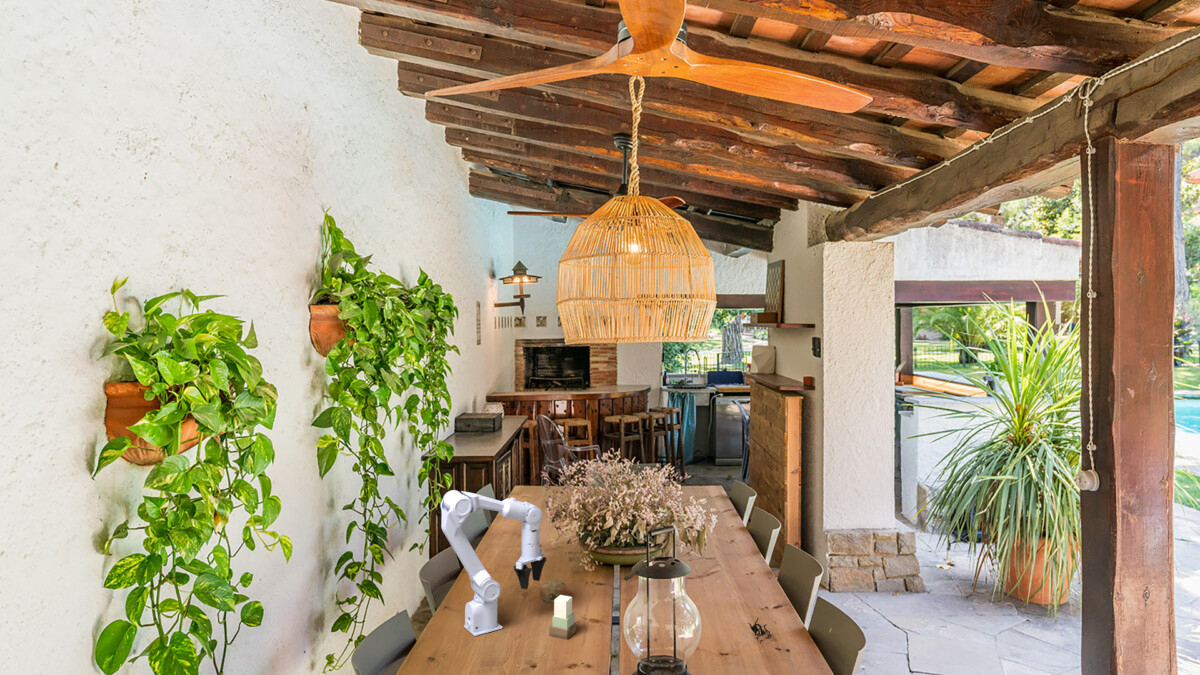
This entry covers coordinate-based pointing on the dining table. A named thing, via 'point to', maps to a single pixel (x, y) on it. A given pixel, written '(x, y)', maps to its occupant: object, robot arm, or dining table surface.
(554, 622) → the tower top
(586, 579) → the dining table surface
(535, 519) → the robot arm
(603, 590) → the dining table surface
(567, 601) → the white block
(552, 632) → the tower base
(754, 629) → the creature
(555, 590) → the brown rounded lump
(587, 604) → the dining table surface
